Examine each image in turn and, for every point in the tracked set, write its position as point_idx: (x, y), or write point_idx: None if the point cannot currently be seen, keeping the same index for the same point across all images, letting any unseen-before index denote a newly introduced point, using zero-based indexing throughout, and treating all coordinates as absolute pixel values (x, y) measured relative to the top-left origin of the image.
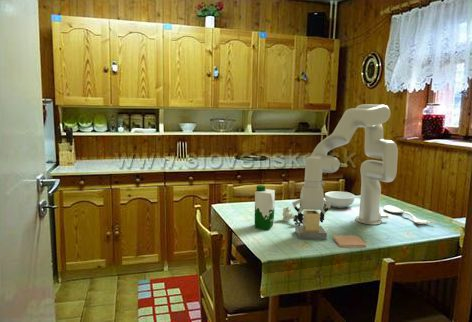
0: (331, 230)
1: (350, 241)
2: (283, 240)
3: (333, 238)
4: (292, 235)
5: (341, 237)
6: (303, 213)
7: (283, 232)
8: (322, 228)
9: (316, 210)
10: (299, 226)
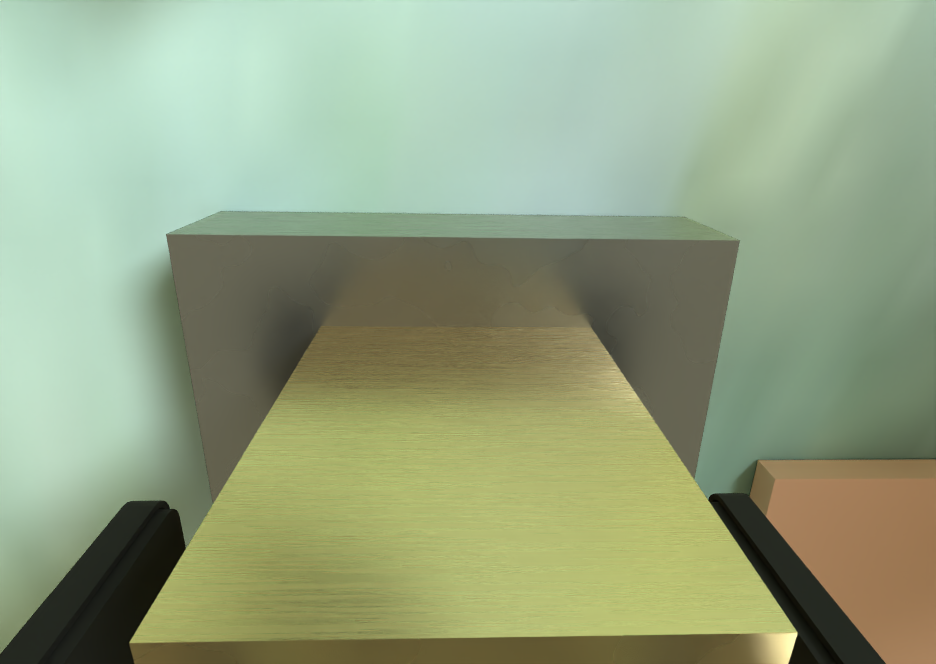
0: (920, 128)
1: (892, 653)
2: (43, 563)
3: (751, 498)
4: (169, 385)
5: (860, 541)
6: (203, 532)
7: (6, 250)
8: (696, 400)
9: (777, 652)
10: (253, 298)
